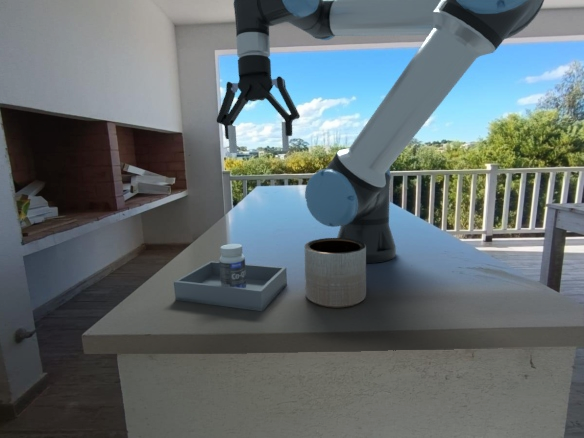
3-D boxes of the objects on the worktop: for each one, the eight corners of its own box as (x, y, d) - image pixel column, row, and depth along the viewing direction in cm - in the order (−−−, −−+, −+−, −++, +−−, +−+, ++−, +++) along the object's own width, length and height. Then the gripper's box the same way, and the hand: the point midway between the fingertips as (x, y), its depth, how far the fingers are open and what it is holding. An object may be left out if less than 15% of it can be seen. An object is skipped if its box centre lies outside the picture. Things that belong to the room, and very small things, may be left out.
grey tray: (286, 284, 67) (286, 267, 66) (262, 311, 55) (261, 291, 55) (211, 276, 72) (210, 261, 72) (175, 299, 61) (173, 281, 60)
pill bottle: (235, 295, 61) (232, 250, 59) (216, 290, 63) (212, 247, 62) (251, 286, 65) (249, 244, 63) (233, 282, 67) (230, 241, 65)
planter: (363, 312, 54) (364, 255, 52) (298, 306, 57) (297, 252, 55) (367, 287, 64) (368, 238, 62) (312, 282, 67) (311, 236, 65)
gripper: (310, 56, 77) (312, 149, 81) (213, 67, 84) (220, 153, 88) (302, 46, 70) (305, 149, 74) (197, 60, 77) (205, 153, 81)
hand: (259, 152), depth 81 cm, fingers open, 13 cm apart
